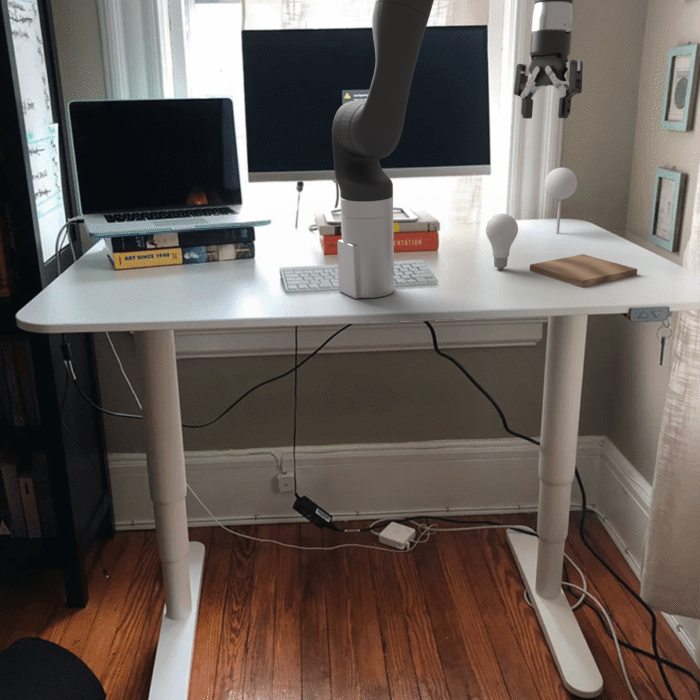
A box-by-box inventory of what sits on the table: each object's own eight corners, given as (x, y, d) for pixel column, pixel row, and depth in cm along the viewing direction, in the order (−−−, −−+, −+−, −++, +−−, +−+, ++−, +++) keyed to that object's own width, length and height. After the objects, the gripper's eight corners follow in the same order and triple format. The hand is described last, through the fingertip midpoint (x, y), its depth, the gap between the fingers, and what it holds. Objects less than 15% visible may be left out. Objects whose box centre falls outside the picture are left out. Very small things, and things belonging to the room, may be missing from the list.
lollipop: (570, 229, 188) (575, 165, 182) (575, 236, 181) (580, 169, 176) (540, 230, 188) (543, 165, 183) (544, 236, 182) (547, 170, 176)
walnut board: (582, 287, 144) (582, 280, 144) (529, 270, 155) (529, 264, 155) (636, 275, 150) (637, 268, 150) (582, 259, 162) (582, 254, 161)
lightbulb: (492, 274, 153) (494, 218, 150) (479, 267, 159) (481, 212, 155) (521, 271, 155) (524, 215, 151) (508, 264, 160) (510, 209, 156)
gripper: (509, 31, 155) (503, 118, 159) (571, 24, 145) (563, 117, 149) (533, 35, 160) (527, 119, 164) (595, 28, 149) (587, 118, 153)
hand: (544, 118), depth 156 cm, fingers open, 8 cm apart
